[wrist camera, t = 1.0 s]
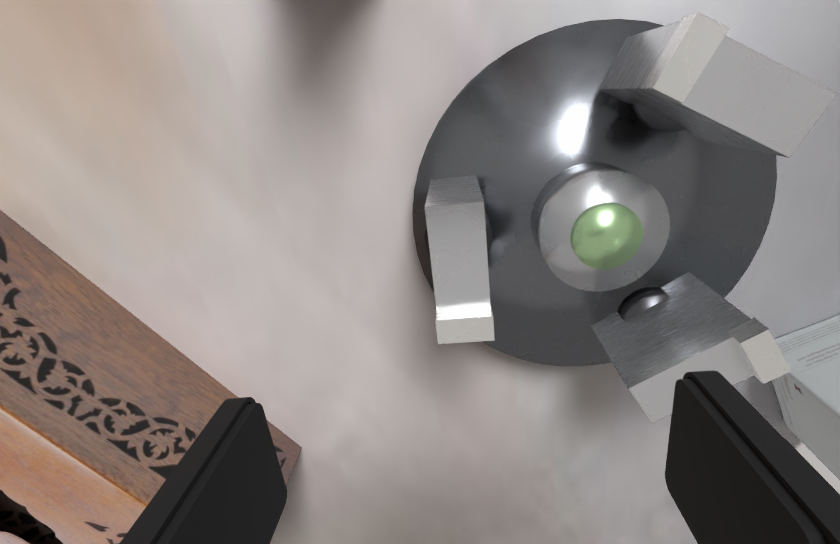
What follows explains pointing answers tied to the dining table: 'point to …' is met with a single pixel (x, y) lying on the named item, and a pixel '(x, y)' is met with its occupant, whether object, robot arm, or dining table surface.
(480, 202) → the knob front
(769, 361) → the knob
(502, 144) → the levelling plate
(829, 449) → the supplement box
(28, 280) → the tissue box cover
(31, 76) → the dining table surface
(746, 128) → the knob
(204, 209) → the dining table surface
